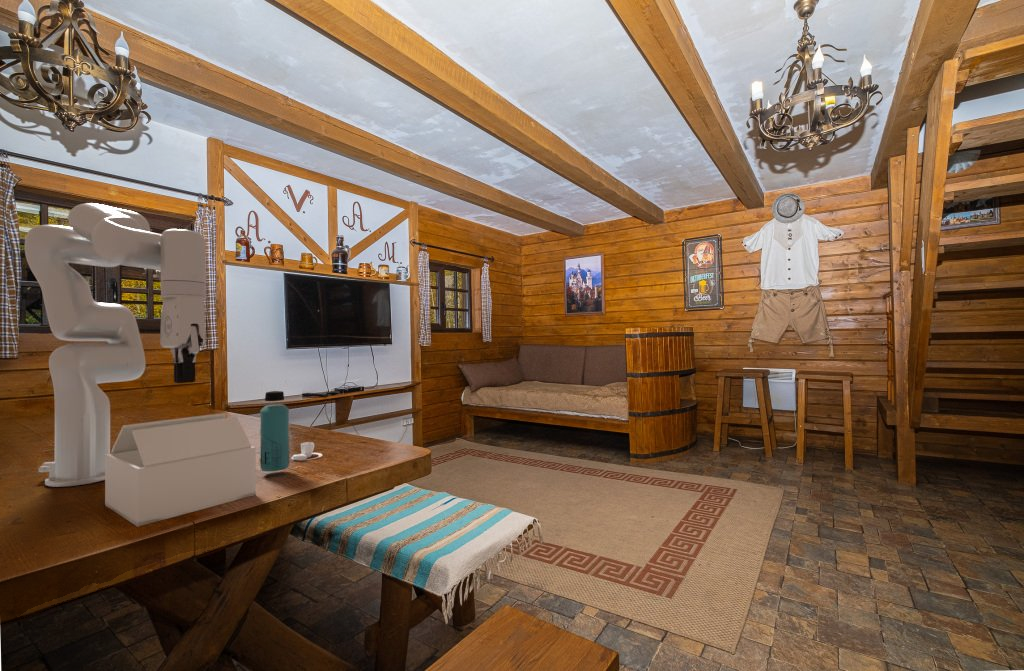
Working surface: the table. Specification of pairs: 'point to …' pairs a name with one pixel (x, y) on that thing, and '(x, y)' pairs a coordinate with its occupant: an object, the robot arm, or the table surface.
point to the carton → (176, 484)
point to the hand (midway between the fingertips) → (184, 382)
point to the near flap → (189, 440)
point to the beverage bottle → (274, 434)
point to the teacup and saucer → (306, 452)
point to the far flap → (126, 437)
